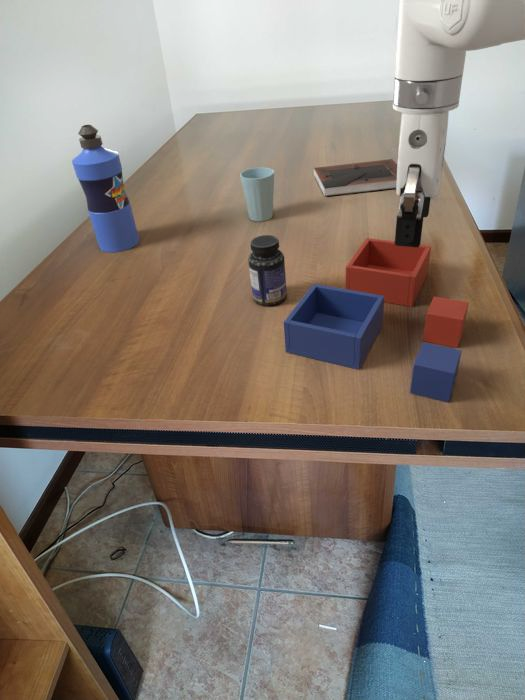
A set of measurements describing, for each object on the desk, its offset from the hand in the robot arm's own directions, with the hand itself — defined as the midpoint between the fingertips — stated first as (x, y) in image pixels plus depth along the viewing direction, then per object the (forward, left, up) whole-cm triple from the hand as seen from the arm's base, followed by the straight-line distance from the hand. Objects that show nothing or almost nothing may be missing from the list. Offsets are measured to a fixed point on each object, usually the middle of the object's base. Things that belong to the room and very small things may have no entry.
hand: (412, 230), depth 69 cm
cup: (+42, -33, -16) cm, 55 cm away
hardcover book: (+27, -61, -16) cm, 68 cm away
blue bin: (+9, +7, -16) cm, 20 cm away
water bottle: (+67, -11, -16) cm, 70 cm away
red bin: (+6, -12, -16) cm, 21 cm away
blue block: (-7, +12, -16) cm, 22 cm away
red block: (-6, 0, -16) cm, 17 cm away
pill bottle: (+24, -1, -16) cm, 29 cm away
